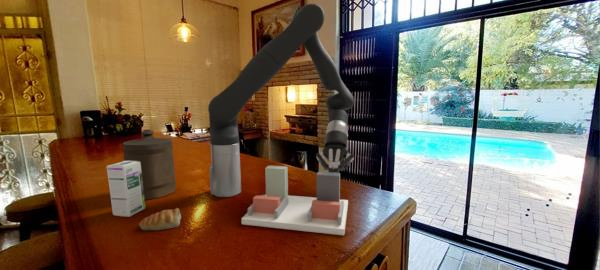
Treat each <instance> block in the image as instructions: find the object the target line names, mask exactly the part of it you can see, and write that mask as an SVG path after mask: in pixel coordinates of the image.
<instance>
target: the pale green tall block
mask: <svg viewBox="0 0 600 270" xmlns="http://www.w3.org/2000/svg"><path fill="white" fill-rule="evenodd" d="M264 169H265V171H264V172H265V195H266V196H270V197H280V202H282V201H283V199H284V198H285V197H288V195H289V178H288V177H289V176H288V173H289V171H288V170H289V169H288V166H284V165H267V166H266V167H265V168H264Z"/></svg>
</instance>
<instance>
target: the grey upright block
mask: <svg viewBox="0 0 600 270" xmlns="http://www.w3.org/2000/svg"><path fill="white" fill-rule="evenodd" d="M316 198H317V200H320V201H332V202H340V199H341V173H340V172H338V173H332V172H329V171H318V172H317V173H316Z"/></svg>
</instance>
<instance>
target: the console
mask: <svg viewBox="0 0 600 270" xmlns="http://www.w3.org/2000/svg"><path fill="white" fill-rule="evenodd" d="M348 206H349V200H348V199H341V198H340V202H332V201H320V200H317V197H312V196H301V195H289V194H288V197H285V198H284V199H283V201H282V202H280V197H270V196H266V194H261V195H255V196H254V197H252V204H250V206H249V207H248V208H247V212H246V213H245V214H244V216H242V217H241V225H245V226H254V227H255V226H256V227H262V228H263V227H264V228H272V229H273V228H274V229H283V230H289V231H290V230H291V231H292V230H293V231H300V232H301V231H302V232H311V233H320V234H328V235H337V236H345V232H346V225H347V215H348V208H349V207H348Z"/></svg>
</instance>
